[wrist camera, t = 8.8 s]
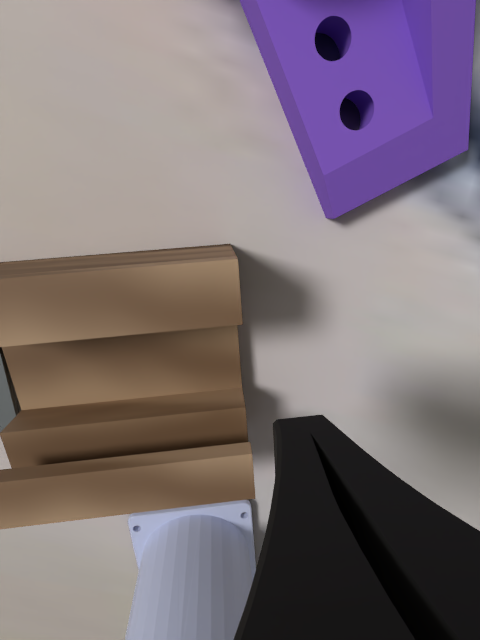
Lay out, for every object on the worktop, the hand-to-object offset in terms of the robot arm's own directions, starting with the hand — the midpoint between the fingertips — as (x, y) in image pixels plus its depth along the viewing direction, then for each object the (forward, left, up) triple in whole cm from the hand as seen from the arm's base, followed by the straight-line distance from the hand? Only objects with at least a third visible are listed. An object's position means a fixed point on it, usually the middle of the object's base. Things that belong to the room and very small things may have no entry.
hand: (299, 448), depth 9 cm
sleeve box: (-1, +7, -10) cm, 13 cm away
